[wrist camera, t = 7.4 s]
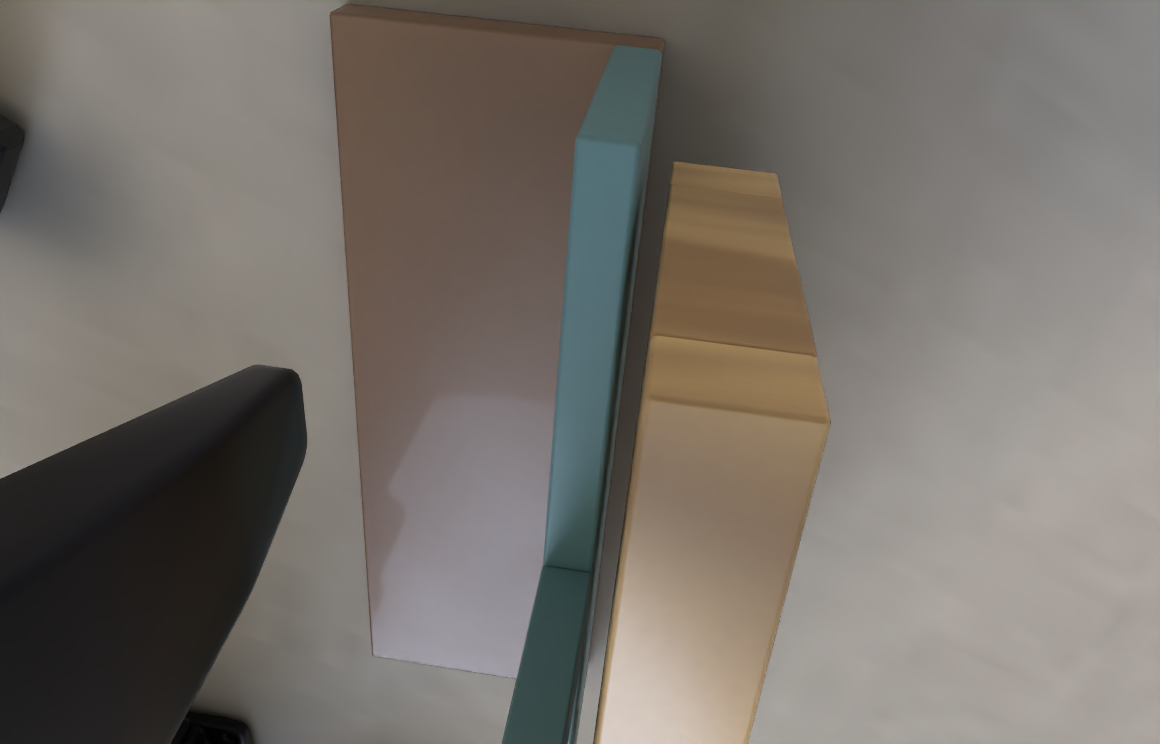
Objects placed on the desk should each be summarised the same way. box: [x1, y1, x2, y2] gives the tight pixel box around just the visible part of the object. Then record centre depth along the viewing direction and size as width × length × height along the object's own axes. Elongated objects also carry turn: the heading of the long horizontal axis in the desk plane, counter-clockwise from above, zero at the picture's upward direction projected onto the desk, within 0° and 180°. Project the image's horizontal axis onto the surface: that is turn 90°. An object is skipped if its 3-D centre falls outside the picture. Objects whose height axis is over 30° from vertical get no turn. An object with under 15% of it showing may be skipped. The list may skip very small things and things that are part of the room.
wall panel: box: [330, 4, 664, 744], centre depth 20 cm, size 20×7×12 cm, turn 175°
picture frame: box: [593, 162, 831, 744], centre depth 18 cm, size 18×2×9 cm, turn 175°
